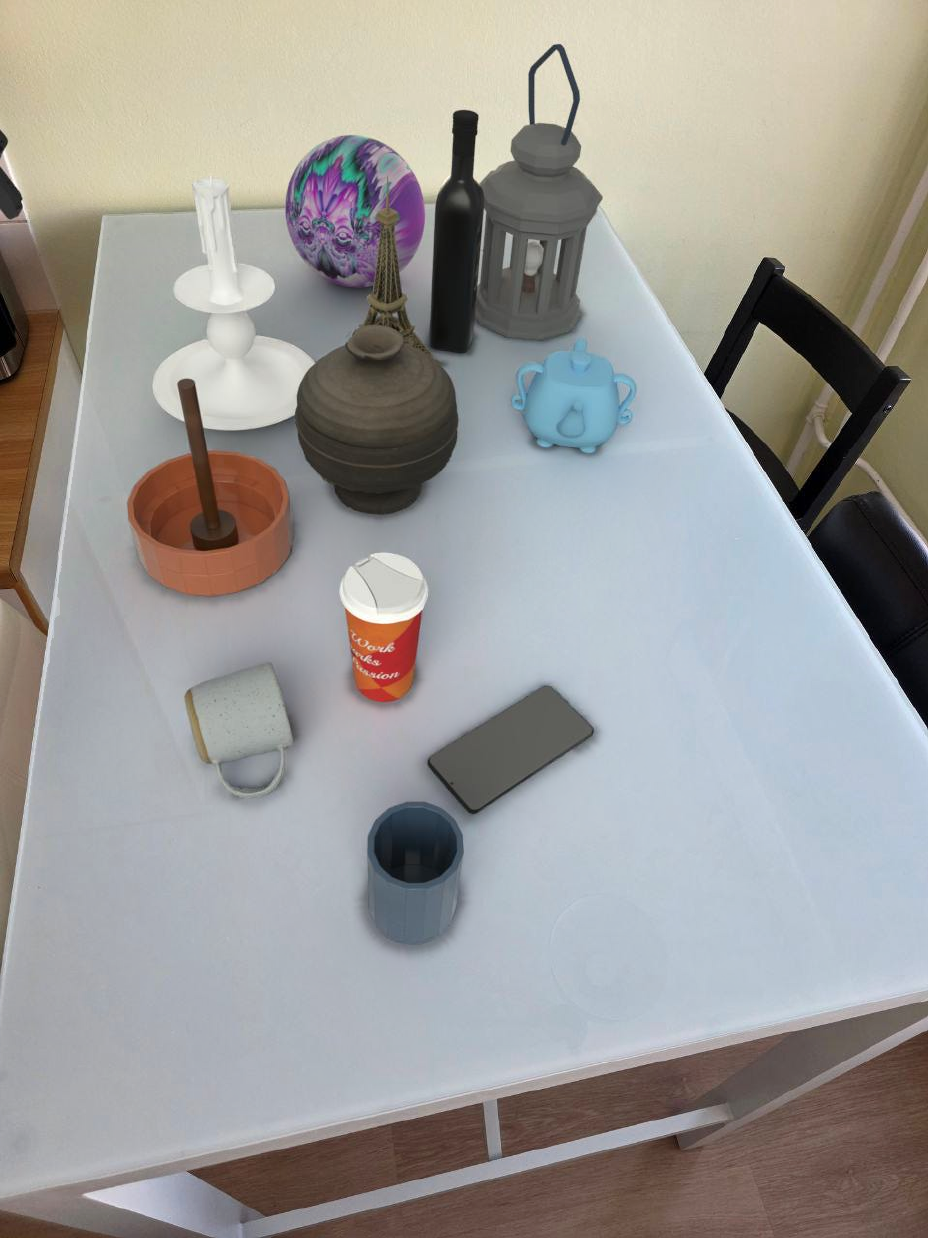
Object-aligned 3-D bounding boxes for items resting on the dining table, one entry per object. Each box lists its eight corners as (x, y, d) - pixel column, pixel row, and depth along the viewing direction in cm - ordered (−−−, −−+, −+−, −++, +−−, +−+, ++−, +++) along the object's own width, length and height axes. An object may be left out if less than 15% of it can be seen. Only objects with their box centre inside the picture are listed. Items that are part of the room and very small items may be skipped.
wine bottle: (474, 334, 131) (493, 108, 108) (467, 355, 127) (485, 126, 104) (435, 327, 131) (446, 101, 108) (427, 349, 127) (437, 119, 105)
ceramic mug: (189, 718, 84) (175, 668, 78) (277, 694, 86) (270, 644, 81) (214, 816, 78) (201, 769, 72) (307, 787, 80) (302, 740, 74)
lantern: (446, 302, 136) (461, 35, 110) (525, 270, 144) (556, 14, 118) (525, 353, 128) (561, 78, 102) (604, 316, 136) (656, 52, 110)
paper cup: (328, 675, 88) (320, 575, 78) (389, 636, 92) (389, 536, 82) (379, 726, 85) (378, 628, 74) (440, 684, 89) (448, 585, 78)
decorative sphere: (265, 291, 134) (251, 150, 119) (329, 236, 147) (323, 101, 132) (388, 326, 130) (389, 184, 115) (443, 266, 143) (450, 131, 128)
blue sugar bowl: (576, 396, 123) (587, 319, 115) (646, 450, 115) (663, 372, 107) (500, 424, 118) (505, 345, 110) (567, 483, 110) (579, 403, 102)
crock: (437, 958, 71) (443, 903, 63) (354, 926, 72) (351, 869, 65) (467, 879, 75) (476, 820, 68) (389, 850, 77) (390, 789, 69)
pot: (301, 544, 99) (292, 377, 85) (296, 453, 112) (287, 295, 98) (463, 538, 102) (479, 376, 88) (440, 449, 115) (451, 296, 101)
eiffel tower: (386, 333, 129) (386, 149, 110) (441, 364, 125) (451, 178, 106) (331, 362, 124) (322, 173, 105) (387, 396, 119) (388, 205, 101)
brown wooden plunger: (246, 544, 99) (222, 387, 84) (207, 562, 96) (174, 404, 82) (224, 519, 101) (197, 362, 86) (185, 536, 99) (149, 378, 84)
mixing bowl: (247, 618, 93) (240, 573, 88) (109, 572, 95) (94, 526, 91) (317, 519, 103) (314, 474, 98) (191, 480, 106) (181, 435, 101)
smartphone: (597, 730, 85) (472, 813, 78) (595, 735, 86) (471, 819, 79) (548, 682, 88) (424, 758, 82) (546, 687, 89) (424, 763, 82)
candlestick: (298, 331, 128) (282, 117, 107) (337, 437, 113) (326, 213, 92) (147, 347, 123) (98, 127, 102) (165, 461, 108) (113, 229, 87)
